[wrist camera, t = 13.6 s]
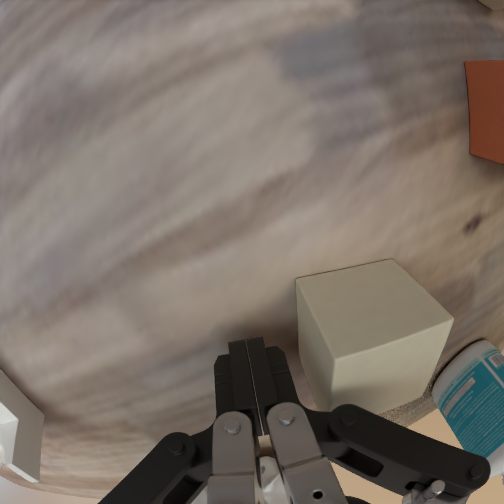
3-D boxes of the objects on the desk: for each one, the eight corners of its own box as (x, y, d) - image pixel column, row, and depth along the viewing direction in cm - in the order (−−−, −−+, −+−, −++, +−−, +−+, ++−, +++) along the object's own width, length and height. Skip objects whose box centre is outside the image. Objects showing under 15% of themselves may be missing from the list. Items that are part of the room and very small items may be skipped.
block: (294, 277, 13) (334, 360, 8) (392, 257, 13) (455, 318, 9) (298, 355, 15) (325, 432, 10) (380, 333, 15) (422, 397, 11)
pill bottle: (424, 406, 21) (480, 509, 9) (432, 366, 18) (512, 494, 6) (480, 368, 21) (541, 456, 9) (495, 321, 18) (579, 422, 6)
